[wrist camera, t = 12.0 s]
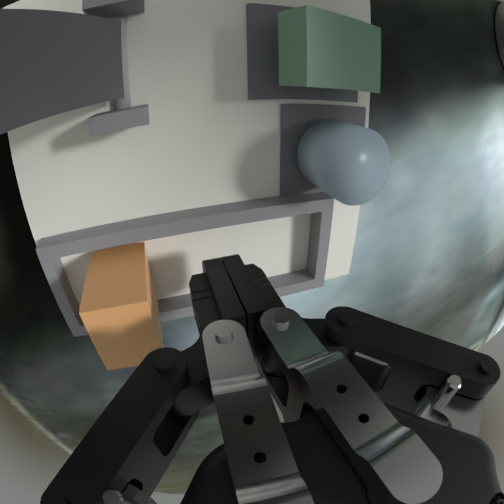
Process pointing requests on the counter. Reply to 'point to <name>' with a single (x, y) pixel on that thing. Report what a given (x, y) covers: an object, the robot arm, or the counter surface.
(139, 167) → the panel
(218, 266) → the robot arm
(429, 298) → the counter surface
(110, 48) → the paddle lever
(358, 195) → the push button
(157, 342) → the slider knob
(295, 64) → the block
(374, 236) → the counter surface
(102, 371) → the counter surface
